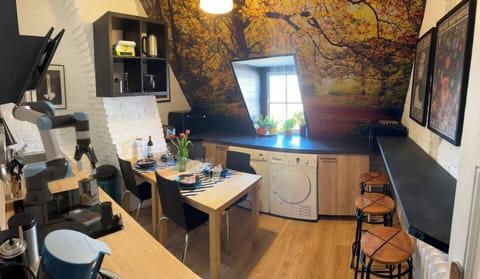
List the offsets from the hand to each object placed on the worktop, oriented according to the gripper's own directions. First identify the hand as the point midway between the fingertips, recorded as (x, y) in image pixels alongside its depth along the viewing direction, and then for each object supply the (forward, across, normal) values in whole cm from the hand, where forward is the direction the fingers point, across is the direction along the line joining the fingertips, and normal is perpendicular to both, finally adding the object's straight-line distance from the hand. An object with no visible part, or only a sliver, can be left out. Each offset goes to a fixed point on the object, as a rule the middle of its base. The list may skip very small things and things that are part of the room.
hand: (86, 172), depth 179 cm
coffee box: (+21, 0, 0) cm, 21 cm away
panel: (+20, +13, -13) cm, 28 cm away
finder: (+19, +12, -15) cm, 27 cm away
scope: (+21, +38, -14) cm, 45 cm away
